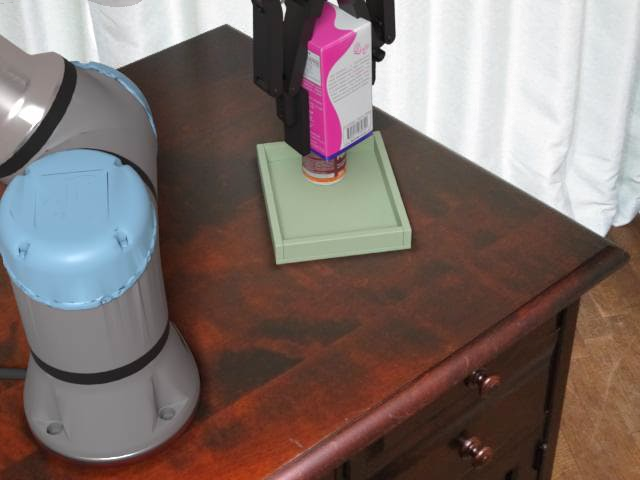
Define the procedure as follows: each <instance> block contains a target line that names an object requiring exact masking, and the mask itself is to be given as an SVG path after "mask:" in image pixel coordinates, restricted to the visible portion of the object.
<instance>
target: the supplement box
mask: <svg viewBox="0 0 640 480" xmlns="http://www.w3.org/2000/svg"><path fill="white" fill-rule="evenodd" d="M301 86H302V87H303V88H304V89H306V90H307V91H308V95H309V123H310V151H311V152H313V153H315V154H316V155H318V156H319V157H321V158H322V159H323V160H325V161H326V162H329V161H331V160H332V159H334V158H335V157H337V156H339V155H340V154H342V153H344V152H345V151H347V150H348V149H350V148H352V147H353V146H355V145H357V144H358V143H360V142H362V141H363V140H365V139H367V138H368V137H370V136H372V135H373V132H374V128H373V127H374V124H373V122H374V120H373V117H374V115H373V86H372V49H371V22H369V21H367V20H365V19H363V18H359V19H356V18H355V17H353V16H351V15H350V14H348V13H346V12H345V11H343V10H342V9H340V8H339V6H338V5H337V4H335V3H333V2H330V1H329V0H328V1H326V2H325V3H324V7H323V11H322V15H321V17H320V18H318V19H316V22H315V26H314V31H313V35H312V39H311V41H309V42H308V57H307V61H306V65H305V70H304V74H303V78H302V83H301Z"/></svg>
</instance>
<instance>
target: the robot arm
mask: <svg viewBox="0 0 640 480" xmlns="http://www.w3.org/2000/svg"><path fill="white" fill-rule="evenodd" d="M326 1H328V2H329V0H250V2H251V5H252V81H253V84H254V85H255V86H256V87H258V88H259V89H261V90H262V91H263V92H264V93H266V94H267V95H269V96H270V97H271V98H273V99H275V107H276V116H277V118H278V119H279V120H280V121H281V122H282V123H283V131H284V132H283V133H284V141H285V143H286V144H288V145H289V146H290V147H292V148H293V149H294V150H295V151H297V152H298V153H299V154H301V155H302V156H303V157H305V156H307V155H309V154H311V151H310V123H309V95H308V91H307V90H306V89H304V88H303V87H302V86H301V83H302V78H303V74H304V70H305V65H306V61H307V57H308V42H309V41H311V39H312V35H313V31H314V26H315V22H316V19H318V18H320V17H321V15H322V11H323V7H324V3H325V2H326ZM336 3H337V6H338V7H339V8H340V9H342V10H343V11H345V12H346V13H348V14H350V15H351V16H353V17H355V18H356V19H359V18H363V19H365V20H367V21H369V22H371V49H372V87H373V86H375V83H376V80H377V74H376V73H377V63H381V62H383V61H384V59H385V58H386V51H385V50H383V49H382V47H383V46H384V45H388V46H390V45H392V44H393V43H395V40H396V37H397V28H396V0H336ZM282 5H284V6H285V13H284V9H283V6H282ZM158 144H159V143H158V135H157V128H156V125H155V122H154V119H153V114H152V110H151V107H150V104H149V103H148V100H147V98H146V97H145V95H144V94H143V92H142V90H140V88H139V87H138V85H137V84H136V83H135V82H134V81H132V80H131V79H130V78H129V77H128V76H127V75H125V74H124V73H122V72H121V71H119V70H117V69H116V68H113V67H112V66H109V65H106V64H104V63H100V62H97V61H93V60H91V61H89V62H87V63H83V62H80V61H79V60H70V61H69V60H68V59H67V58H65V57H64V56H63V55H61V54H60V53H57V52H55V51H46V52H39V53H35V54H29V53H27V52H26V51H25V50H23V49H21V48H20V47H19V46H17V45H16V44H14V42H11V41H10V40H9V39H8V38H7V37H5V36H3V35H2V34H0V181H1V182H2V183H3V184H5V185H7V187H6V188H5V190H4V192H3V193H2V196H1V199H0V255H1V257H2V262H3V267H4V268H5V269H6V272H7V274H8V277H9V280H10V284H11V288H12V291H13V292H12V293H13V295H14V298H15V302H16V305H17V309H18V313H19V316H20V319H21V323H22V327H23V330H24V334H25V337H26V341H27V343H28V348H29V351H30V352H29V358H28V363H27V368H17V367H0V380H13V381H14V380H15V381H16V380H18V381H24V385H23V393H22V394H23V395H22V396H23V409H24V415H25V419H26V422H27V425H28V427H29V430H30V433H31V435H32V436H33V438H34V440H35V441H36V442H37V444H39V446H40V447H41V448H42V449H43V450H44V451H45V452H47V453H48V454H50V456H53V457H54V458H56V459H58V460H60V461H62V462H65V463H67V464H69V465H73V466H77V467H81V468H82V467H83V468H88V469H112V468H113V469H114V468H120V467H125V466H131V465H133V464H137V463H139V462H142V461H146V460H147V459H150V458H152V457H154V456H156V455H159V453H161V452H163V451H164V450H166V449H168V447H170V446H172V445H173V444H174V443H175V442H176V441H177V440H178V439H179V438H180V437H181V436H182V435H183V434H184V433H185V432H186V431H187V429H189V427H190V425H191V424H192V422H193V421H194V419H195V417H196V415H197V413H198V410H199V407H200V402H201V396H202V386H201V379H200V373H199V368H198V365H197V363H196V360H195V357H194V355H193V353H192V351H191V349H190V348H189V345H188V343H186V341H185V339H184V337H183V336H182V333H181V332H180V331H179V329H178V328H177V326H176V324H175V323H174V321H172V320H171V319H170V315H169V308H168V301H167V296H166V289H165V283H164V276H163V269H162V260H161V251H160V250H161V249H160V233H159V231H160V230H159V213H158V204H159V203H158V201H159V200H158V167H157V166H158V165H157V164H158V160H157V156H158V146H159V145H158Z"/></svg>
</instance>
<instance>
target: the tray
mask: <svg viewBox="0 0 640 480" xmlns="http://www.w3.org/2000/svg"><path fill="white" fill-rule="evenodd" d="M255 146H256V156H257V157H256V159H257V166H258V167H257V168H258V172H259V177H260V178H259V179H260V182H261V183H260V184H261V188H262V189H261V190H262V193H263V198H264V199H263V200H264V204H265V205H264V206H265V210H266V216H267V221H268V226H269V231H270V238H271V244H272V248H273V254H274V259H275V264H276V265H284V264H292V263H301V262H308V261H316V260H327V259H332V258H333V259H334V258H335V259H336V258H343V257H350V256H359V255H368V254H375V253H385V252H394V251H401V250H409V249H411V248H412V232H413V231H412V226H411V224H410V221H409V218H408V214H407V212H406V208H405V205H404V202H403V199H402V196H401V192H400V189H399V186H398V183H397V180H396V177H395V174H394V169H393V167H392V165H391V161H390V159H389V155H388V153H387V152H388V151H387V149H386V146H385V142H384V140H383V137H382V133H381V131H380V130H375V131H374V130H373V135H372V136H370V137H368V138H367V139H365V140H363V141H362V142H360V143H358V144H357V145H355V146H353V147H352V148H350V149H348V150H347V151H346V175H345V177H344V178H343V179H342V180H341V181H339V182H338V183H335V184H332V185H325V186H324V185H317V184H313V183H311V182H309V181H308V180H306V179H305V177H304V176H303V172H302V155H301V154H299V153H298V152H297V151H295V150H294V149H293V148H292V147H290V146H289V145H288V144H286V143H285V140H284V141H275V142H266V143H257V144H256V145H255Z"/></svg>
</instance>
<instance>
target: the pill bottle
mask: <svg viewBox="0 0 640 480" xmlns="http://www.w3.org/2000/svg"><path fill="white" fill-rule="evenodd" d="M302 172H303V176H304V177H305V179H306V180H308V181H309V182H311V183H313V184H317V185H324V186H325V185H332V184H335V183H338V182H339V181H341V180H342V179H343V178H344V177H345V175H346V151H345V152H344V153H342V154H340V155H339V156H337V157H335V158H334V159H332V160H331V161H329V162H326V161H325V160H323V159H322V158H321V157H319V156H318V155H316V154H315V153H313V152H311V154H309V155H307V156H305V157H303V156H302Z"/></svg>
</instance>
